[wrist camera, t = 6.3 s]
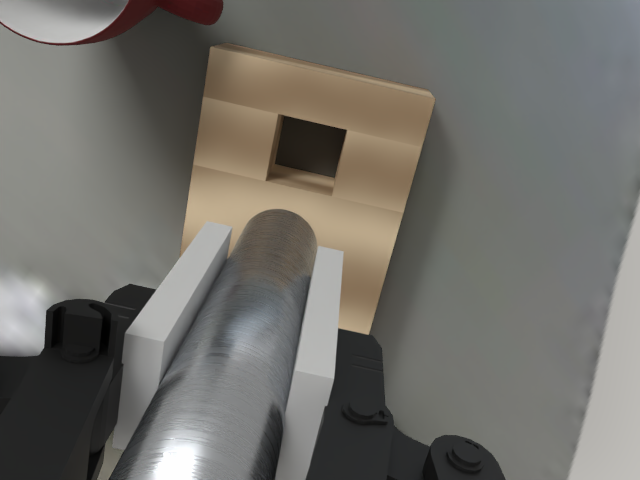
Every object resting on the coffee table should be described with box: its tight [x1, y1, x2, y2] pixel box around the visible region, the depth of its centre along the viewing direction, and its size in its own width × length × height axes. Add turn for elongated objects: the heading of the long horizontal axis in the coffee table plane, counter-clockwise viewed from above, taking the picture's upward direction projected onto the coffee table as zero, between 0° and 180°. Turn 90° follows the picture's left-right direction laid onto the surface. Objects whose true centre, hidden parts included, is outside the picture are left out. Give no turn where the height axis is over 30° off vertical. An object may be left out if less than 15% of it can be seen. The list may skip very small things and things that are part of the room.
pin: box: [109, 209, 317, 480], centre depth 14 cm, size 3×3×14 cm
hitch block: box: [180, 43, 436, 335], centre depth 39 cm, size 30×12×4 cm, turn 167°
